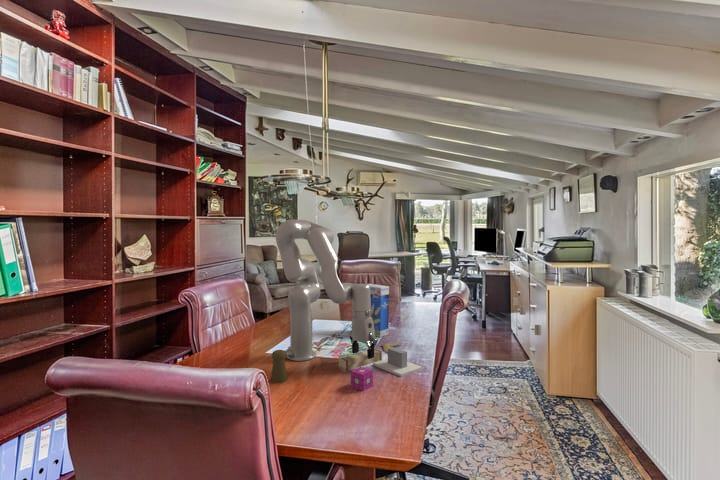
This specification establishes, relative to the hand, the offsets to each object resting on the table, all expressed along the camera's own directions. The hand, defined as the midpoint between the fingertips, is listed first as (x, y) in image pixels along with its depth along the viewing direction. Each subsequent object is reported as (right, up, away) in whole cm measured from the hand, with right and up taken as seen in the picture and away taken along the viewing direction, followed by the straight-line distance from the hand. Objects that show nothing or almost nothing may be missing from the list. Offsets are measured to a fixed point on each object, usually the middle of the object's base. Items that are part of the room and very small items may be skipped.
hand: (363, 355), depth 160 cm
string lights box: (+7, -2, +46) cm, 46 cm away
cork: (-31, -5, -16) cm, 36 cm away
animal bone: (+14, -4, +16) cm, 21 cm away
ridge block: (+14, -4, -3) cm, 15 cm away
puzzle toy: (-1, -5, -22) cm, 22 cm away
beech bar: (-1, -4, 0) cm, 4 cm away
